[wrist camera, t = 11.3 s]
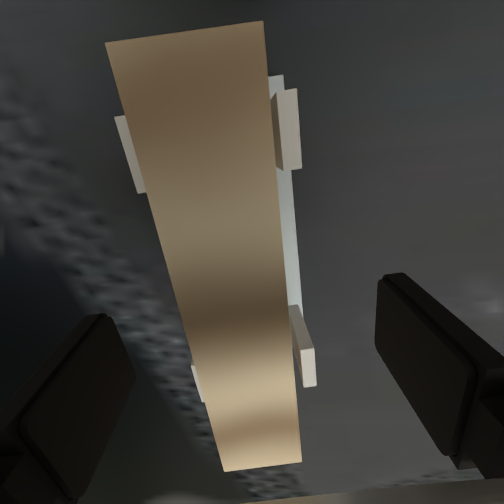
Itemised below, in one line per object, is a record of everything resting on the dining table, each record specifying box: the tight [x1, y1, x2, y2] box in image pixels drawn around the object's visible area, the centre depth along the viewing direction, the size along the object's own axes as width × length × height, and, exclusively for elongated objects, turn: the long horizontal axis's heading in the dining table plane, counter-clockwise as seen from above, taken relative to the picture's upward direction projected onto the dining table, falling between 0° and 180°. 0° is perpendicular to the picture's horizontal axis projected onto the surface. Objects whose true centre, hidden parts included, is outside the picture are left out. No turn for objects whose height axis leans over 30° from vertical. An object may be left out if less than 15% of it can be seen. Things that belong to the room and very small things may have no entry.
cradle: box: [114, 75, 317, 402], centre depth 18 cm, size 20×9×10 cm, turn 8°
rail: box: [105, 21, 302, 472], centre depth 13 cm, size 18×4×7 cm, turn 7°
